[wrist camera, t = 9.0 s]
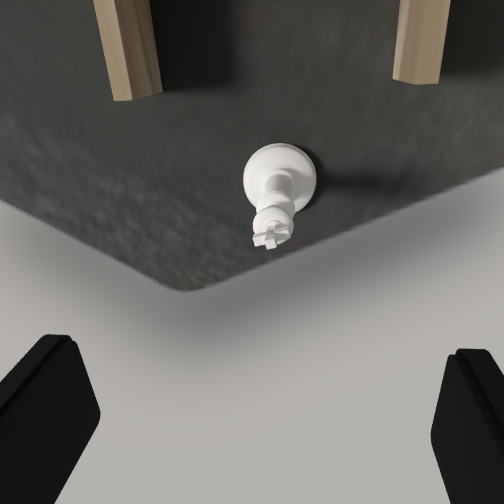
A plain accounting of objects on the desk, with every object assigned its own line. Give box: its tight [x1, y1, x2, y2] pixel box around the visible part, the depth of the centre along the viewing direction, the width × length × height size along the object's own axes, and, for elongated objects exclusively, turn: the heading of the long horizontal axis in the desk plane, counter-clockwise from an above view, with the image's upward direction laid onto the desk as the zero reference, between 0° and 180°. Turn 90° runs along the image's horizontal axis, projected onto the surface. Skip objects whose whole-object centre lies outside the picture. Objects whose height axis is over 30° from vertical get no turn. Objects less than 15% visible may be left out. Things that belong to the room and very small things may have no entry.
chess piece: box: [244, 143, 316, 249], centre depth 22 cm, size 5×5×10 cm
